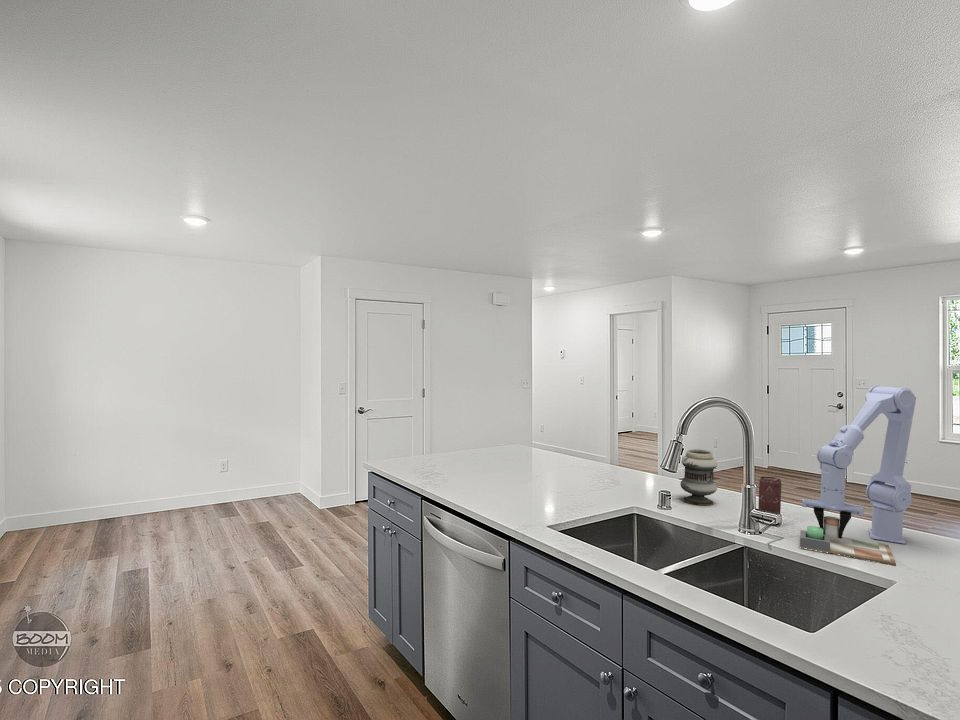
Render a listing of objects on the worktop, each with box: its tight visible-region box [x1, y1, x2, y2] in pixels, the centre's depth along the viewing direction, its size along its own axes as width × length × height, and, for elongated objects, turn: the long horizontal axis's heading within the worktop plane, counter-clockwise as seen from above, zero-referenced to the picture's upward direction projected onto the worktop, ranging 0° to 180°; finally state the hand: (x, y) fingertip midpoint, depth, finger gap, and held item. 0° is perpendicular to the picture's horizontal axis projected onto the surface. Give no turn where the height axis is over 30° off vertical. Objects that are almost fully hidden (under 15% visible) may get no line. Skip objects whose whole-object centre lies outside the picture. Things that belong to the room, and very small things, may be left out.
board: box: [799, 529, 897, 567], centre depth 149 cm, size 16×21×1 cm
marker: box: [823, 515, 840, 541], centre depth 154 cm, size 4×4×6 cm
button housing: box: [799, 530, 830, 552], centre depth 149 cm, size 7×7×2 cm
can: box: [757, 476, 782, 515], centre depth 170 cm, size 6×6×14 cm
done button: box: [806, 525, 823, 540], centre depth 149 cm, size 4×4×3 cm
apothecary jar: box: [680, 448, 718, 507], centre depth 192 cm, size 12×12×18 cm
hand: (831, 536), depth 154 cm, fingers closed on marker, 4 cm apart
